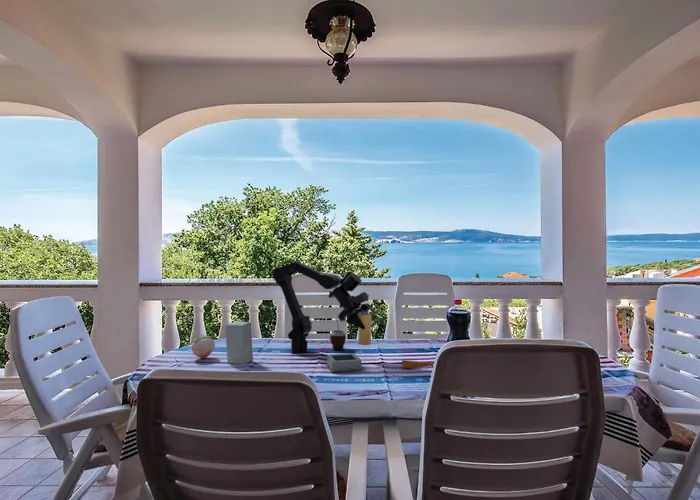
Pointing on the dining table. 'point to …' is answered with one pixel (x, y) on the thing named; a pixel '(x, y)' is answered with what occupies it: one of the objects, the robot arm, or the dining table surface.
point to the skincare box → (239, 342)
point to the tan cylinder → (366, 333)
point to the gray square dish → (344, 363)
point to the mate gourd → (337, 338)
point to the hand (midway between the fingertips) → (367, 327)
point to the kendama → (415, 364)
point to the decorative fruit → (203, 346)
